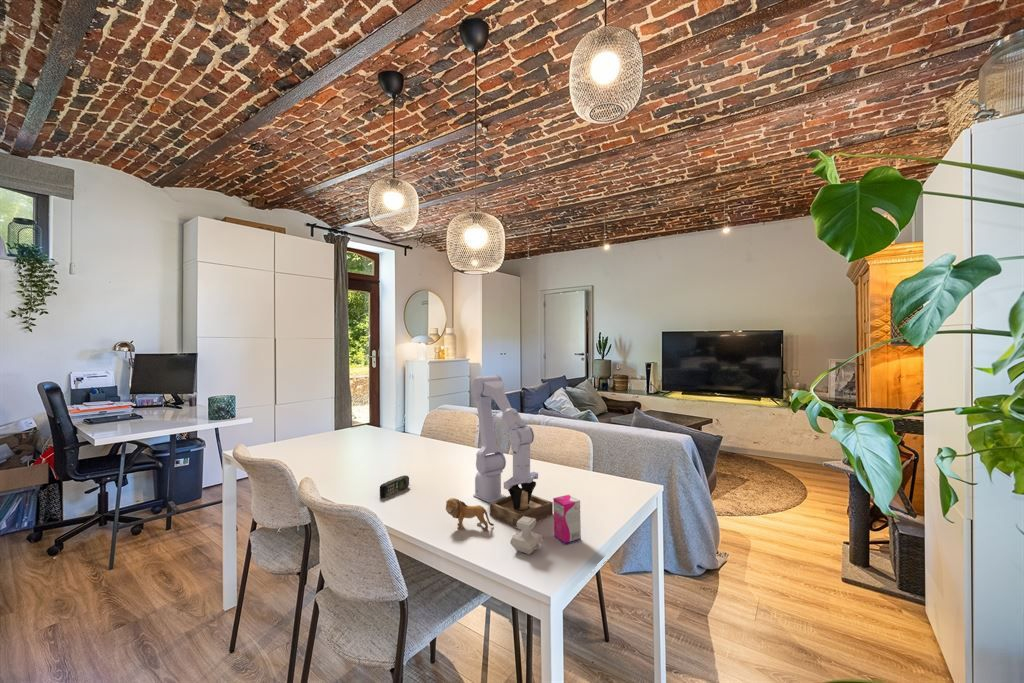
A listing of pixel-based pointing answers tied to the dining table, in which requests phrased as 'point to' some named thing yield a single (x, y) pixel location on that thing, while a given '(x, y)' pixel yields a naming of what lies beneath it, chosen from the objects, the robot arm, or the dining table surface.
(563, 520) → the supplement box
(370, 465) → the dining table surface
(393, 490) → the mobile phone
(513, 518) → the walnut box
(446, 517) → the dining table surface
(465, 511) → the tan animal figurine
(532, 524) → the stamp
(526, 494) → the oak dowel
